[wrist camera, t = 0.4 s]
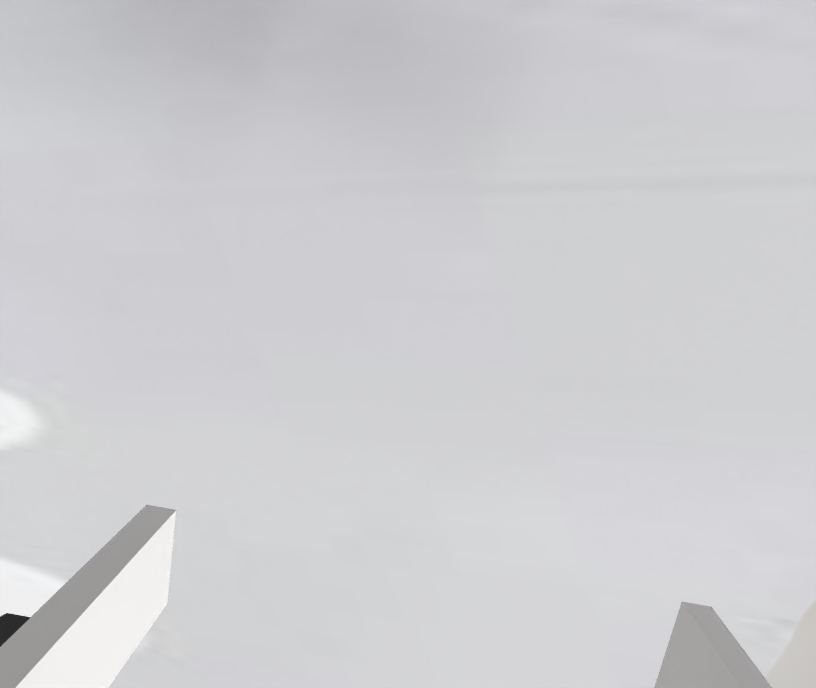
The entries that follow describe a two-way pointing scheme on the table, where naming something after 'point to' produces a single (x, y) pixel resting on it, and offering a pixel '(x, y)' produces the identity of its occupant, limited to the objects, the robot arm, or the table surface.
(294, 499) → the table surface
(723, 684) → the robot arm
